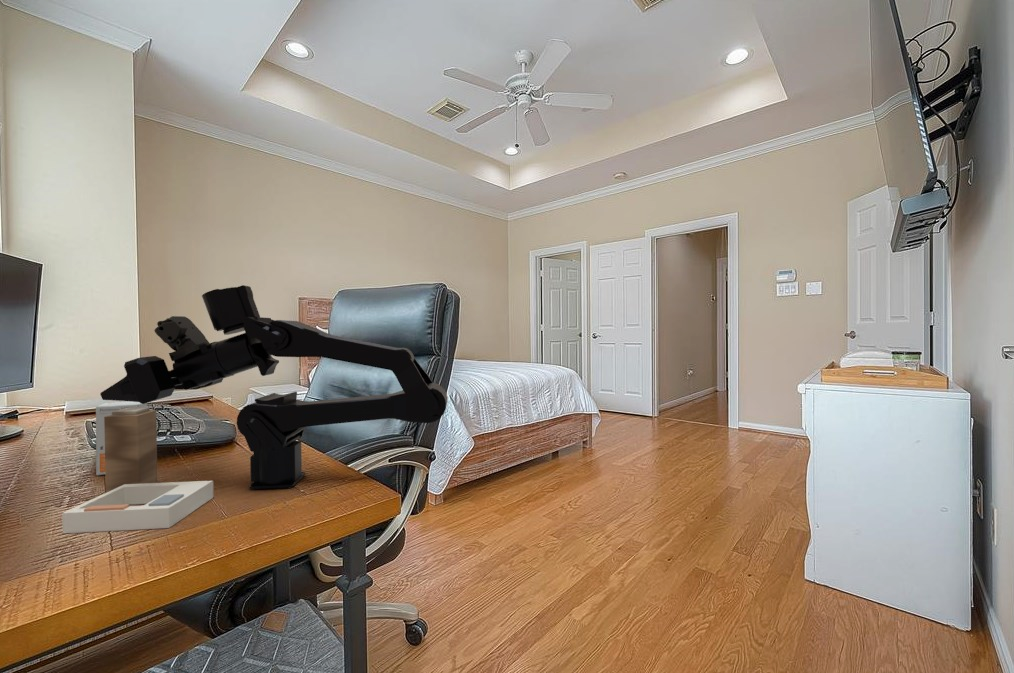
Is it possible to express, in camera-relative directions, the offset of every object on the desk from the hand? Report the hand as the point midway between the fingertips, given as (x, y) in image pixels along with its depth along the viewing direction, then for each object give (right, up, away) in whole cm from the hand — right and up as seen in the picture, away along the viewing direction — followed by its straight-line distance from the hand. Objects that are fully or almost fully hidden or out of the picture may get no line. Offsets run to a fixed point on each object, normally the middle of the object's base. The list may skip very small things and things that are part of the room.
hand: (125, 391), depth 68 cm
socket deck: (+11, -15, -9) cm, 21 cm away
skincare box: (-9, -15, +9) cm, 20 cm away
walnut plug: (+2, -15, 0) cm, 15 cm away
